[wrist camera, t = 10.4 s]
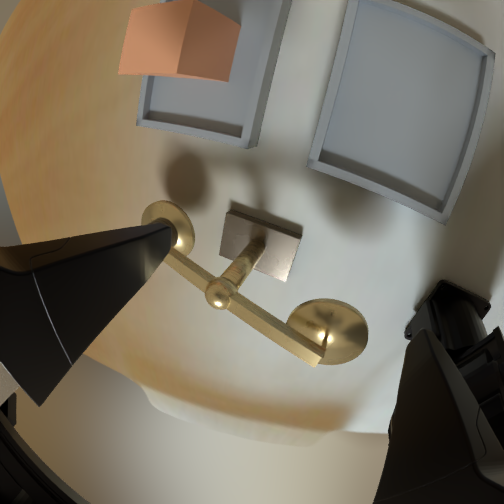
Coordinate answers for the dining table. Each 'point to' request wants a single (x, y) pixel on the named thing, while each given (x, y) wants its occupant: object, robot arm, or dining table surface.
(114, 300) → the robot arm
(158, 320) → the dining table surface
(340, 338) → the balance
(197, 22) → the block
